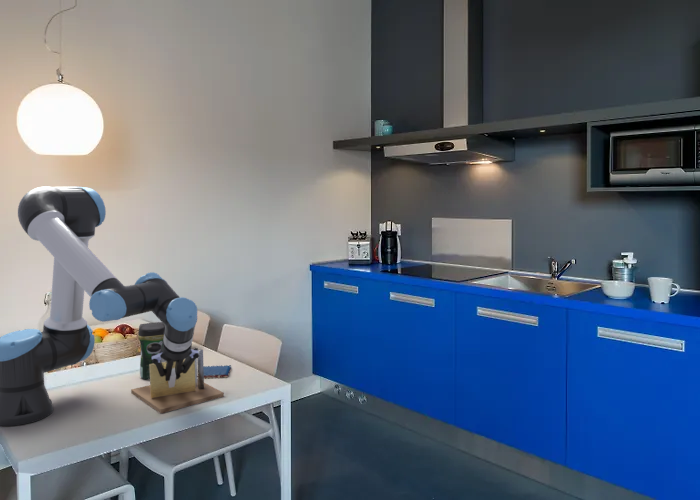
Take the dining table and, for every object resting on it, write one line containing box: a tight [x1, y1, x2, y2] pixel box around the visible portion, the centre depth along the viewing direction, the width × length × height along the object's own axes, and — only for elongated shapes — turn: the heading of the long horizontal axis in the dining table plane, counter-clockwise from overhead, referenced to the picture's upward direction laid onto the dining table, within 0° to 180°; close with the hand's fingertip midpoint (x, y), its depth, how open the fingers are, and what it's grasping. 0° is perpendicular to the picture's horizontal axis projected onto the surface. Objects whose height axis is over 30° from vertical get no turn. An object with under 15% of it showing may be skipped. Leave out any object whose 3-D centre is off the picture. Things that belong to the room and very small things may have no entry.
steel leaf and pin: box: [158, 348, 205, 390], centre depth 177 cm, size 16×3×14 cm, turn 77°
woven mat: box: [197, 364, 232, 380], centre depth 193 cm, size 10×11×2 cm
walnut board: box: [130, 378, 225, 414], centre depth 173 cm, size 20×22×1 cm
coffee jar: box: [137, 321, 165, 380], centre depth 190 cm, size 10×8×19 cm
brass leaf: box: [149, 359, 195, 398], centre depth 169 cm, size 13×1×10 cm, turn 119°
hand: (171, 383), depth 167 cm, fingers closed
